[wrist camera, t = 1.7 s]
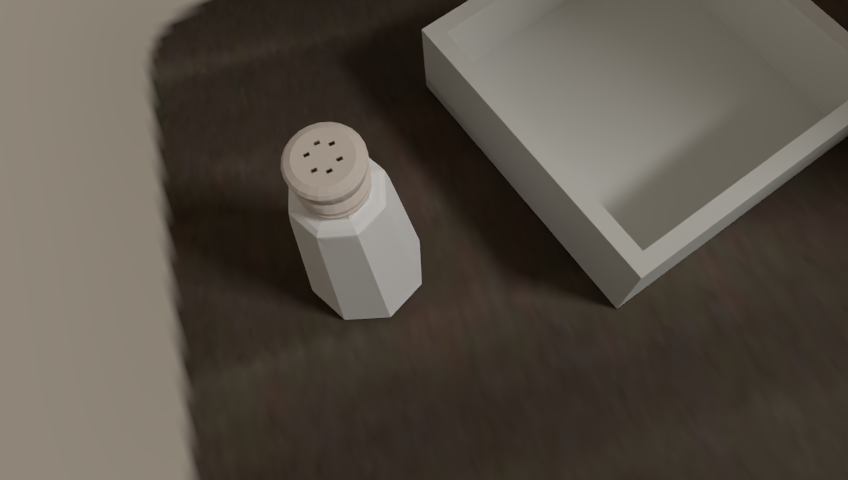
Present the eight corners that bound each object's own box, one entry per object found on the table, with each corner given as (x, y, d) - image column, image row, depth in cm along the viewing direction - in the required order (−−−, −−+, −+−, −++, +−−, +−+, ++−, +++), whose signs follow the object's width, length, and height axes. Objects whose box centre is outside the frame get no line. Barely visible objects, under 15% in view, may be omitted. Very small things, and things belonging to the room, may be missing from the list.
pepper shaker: (291, 241, 33) (214, 123, 22) (395, 195, 33) (367, 58, 23) (335, 343, 31) (273, 266, 21) (445, 292, 31) (438, 192, 21)
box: (643, -53, 38) (666, -123, 34) (849, 134, 33) (906, 81, 29) (426, 85, 35) (421, 29, 31) (616, 308, 31) (641, 278, 27)
